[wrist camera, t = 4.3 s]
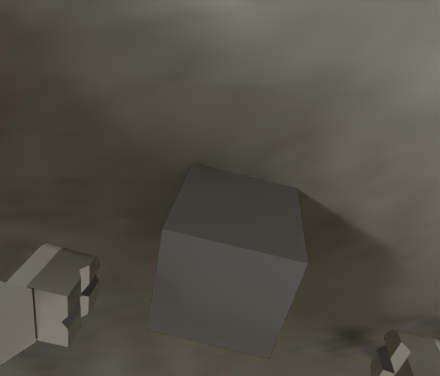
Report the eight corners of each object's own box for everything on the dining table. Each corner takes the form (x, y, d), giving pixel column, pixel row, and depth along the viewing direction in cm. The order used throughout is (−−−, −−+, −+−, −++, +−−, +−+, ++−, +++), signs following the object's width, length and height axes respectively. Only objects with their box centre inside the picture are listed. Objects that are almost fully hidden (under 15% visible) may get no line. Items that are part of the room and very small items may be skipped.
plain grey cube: (177, 246, 15) (147, 329, 12) (192, 163, 14) (162, 228, 10) (268, 268, 15) (269, 359, 12) (297, 187, 14) (308, 264, 10)
